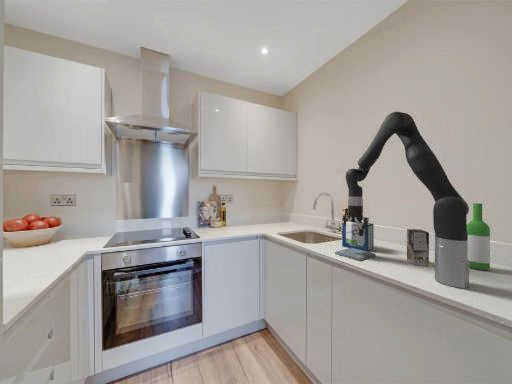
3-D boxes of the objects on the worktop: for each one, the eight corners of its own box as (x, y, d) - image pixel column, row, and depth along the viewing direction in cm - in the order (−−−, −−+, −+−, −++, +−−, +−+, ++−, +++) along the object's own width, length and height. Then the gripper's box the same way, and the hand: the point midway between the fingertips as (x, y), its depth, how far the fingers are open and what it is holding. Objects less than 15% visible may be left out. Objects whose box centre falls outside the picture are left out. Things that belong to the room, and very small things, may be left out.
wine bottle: (488, 272, 89) (488, 204, 89) (463, 267, 96) (463, 203, 96) (491, 269, 94) (492, 203, 94) (467, 264, 100) (467, 202, 100)
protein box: (349, 243, 139) (349, 220, 139) (373, 248, 127) (374, 223, 127) (341, 246, 132) (341, 222, 132) (366, 251, 120) (366, 225, 120)
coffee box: (429, 266, 96) (429, 232, 96) (413, 265, 98) (413, 231, 98) (421, 260, 105) (421, 229, 105) (406, 259, 107) (406, 228, 107)
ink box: (351, 244, 110) (351, 222, 110) (345, 242, 115) (345, 221, 115) (364, 243, 112) (365, 222, 112) (358, 241, 117) (358, 221, 117)
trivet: (375, 255, 112) (375, 253, 112) (359, 261, 104) (359, 258, 104) (351, 249, 124) (351, 247, 124) (335, 254, 115) (335, 251, 115)
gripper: (372, 205, 110) (371, 236, 110) (347, 203, 122) (347, 232, 122) (364, 205, 106) (364, 238, 106) (339, 204, 118) (339, 233, 118)
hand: (355, 234), depth 114 cm, fingers closed on ink box, 6 cm apart
